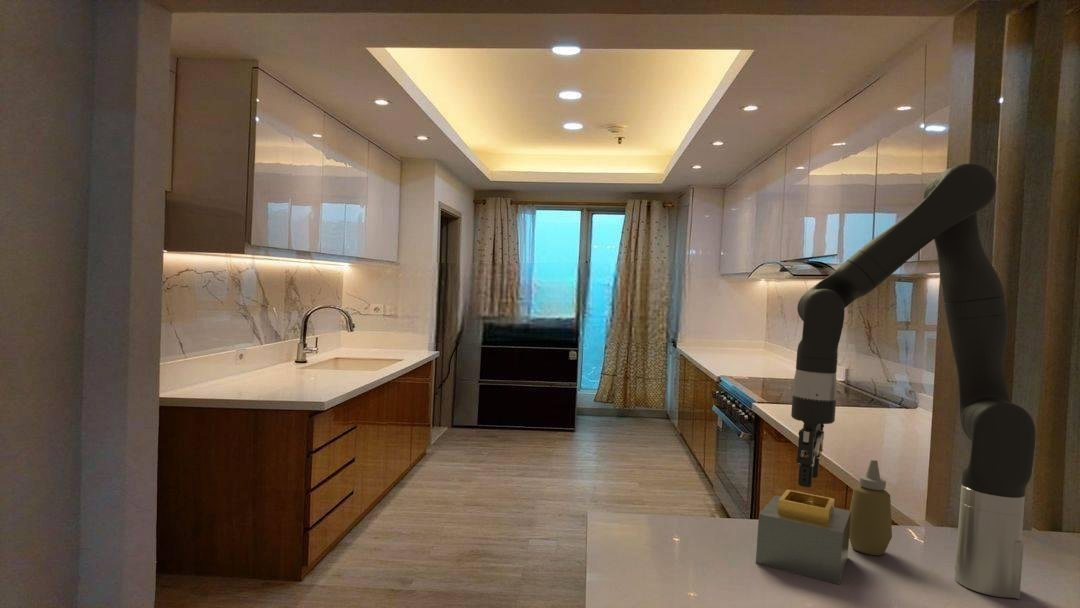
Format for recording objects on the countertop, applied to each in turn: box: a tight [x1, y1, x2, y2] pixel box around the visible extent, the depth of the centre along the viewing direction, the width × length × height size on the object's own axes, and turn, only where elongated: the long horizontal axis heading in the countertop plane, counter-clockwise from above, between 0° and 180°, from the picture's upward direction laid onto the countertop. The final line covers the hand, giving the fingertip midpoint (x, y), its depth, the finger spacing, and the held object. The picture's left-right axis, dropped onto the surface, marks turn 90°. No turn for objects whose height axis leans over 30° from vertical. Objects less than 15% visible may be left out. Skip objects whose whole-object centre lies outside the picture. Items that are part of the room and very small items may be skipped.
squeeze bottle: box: [849, 459, 893, 556], centre depth 128 cm, size 8×8×18 cm
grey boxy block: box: [755, 489, 851, 585], centre depth 120 cm, size 14×15×12 cm
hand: (808, 481), depth 120 cm, fingers open, 8 cm apart
